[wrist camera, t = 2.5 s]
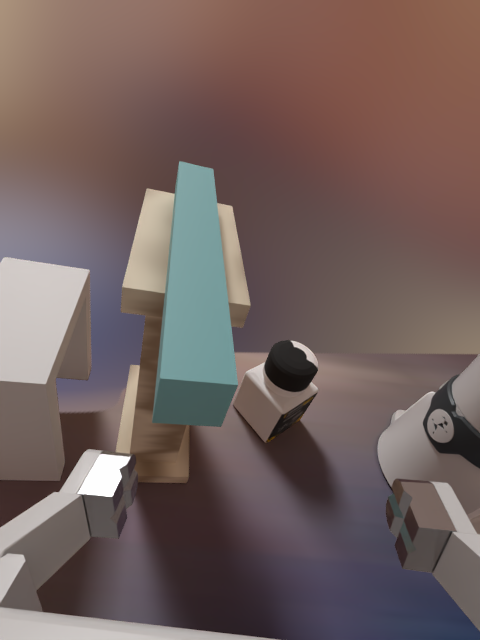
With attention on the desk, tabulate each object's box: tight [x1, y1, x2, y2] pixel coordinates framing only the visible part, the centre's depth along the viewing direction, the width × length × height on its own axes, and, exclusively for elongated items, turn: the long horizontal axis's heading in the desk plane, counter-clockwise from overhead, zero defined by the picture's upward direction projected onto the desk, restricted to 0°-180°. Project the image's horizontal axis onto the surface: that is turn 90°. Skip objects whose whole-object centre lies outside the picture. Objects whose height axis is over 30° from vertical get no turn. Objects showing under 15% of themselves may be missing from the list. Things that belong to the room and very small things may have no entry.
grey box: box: [0, 257, 91, 481], centre depth 36 cm, size 8×15×16 cm, turn 6°
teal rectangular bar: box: [152, 162, 238, 427], centre depth 23 cm, size 3×24×3 cm, turn 6°
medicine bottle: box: [233, 340, 318, 443], centre depth 46 cm, size 7×7×12 cm
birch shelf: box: [116, 189, 250, 483], centre depth 36 cm, size 8×15×26 cm, turn 6°
